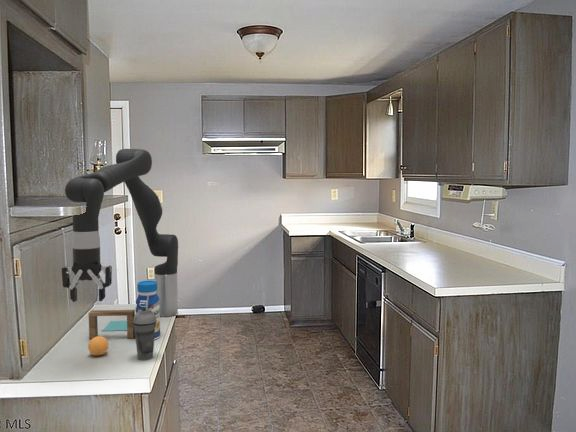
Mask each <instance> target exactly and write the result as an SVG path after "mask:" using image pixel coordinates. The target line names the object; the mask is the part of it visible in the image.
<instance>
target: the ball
mask: <svg viewBox="0 0 576 432" xmlns="http://www.w3.org/2000/svg"><path fill="white" fill-rule="evenodd" d="M87 346H88V347H87V348H88V351H89V352H90V354H91V355H94V356H95V357H96V356H102V355H103V354H105V353H106V352H107V351H108V349H109V341H108V339H107V338H105V337H104V336H99V335H98V336H97V337H94V338H93V339H92V340H89V343H88V345H87Z"/></svg>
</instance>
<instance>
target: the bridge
mask: <svg viewBox="0 0 576 432" xmlns="http://www.w3.org/2000/svg"><path fill="white" fill-rule="evenodd" d="M135 314H136V311H135V309H106V310H103V309H102V310H98V309H97V310H96V309H95V310H90V311H89V312H88V336H89V341H91V340H92V339H93V338H94V337H97V336H99V328H98V317H111V316H112V317H118V316H119V317H121V316H123V317H124V316H126V321H127V331H126V332H127V334H126V335H127V337H126V338H127V340H133V339H134V340H135V330H134V327H133V319H134V316H135Z"/></svg>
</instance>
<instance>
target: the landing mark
mask: <svg viewBox="0 0 576 432" xmlns="http://www.w3.org/2000/svg"><path fill="white" fill-rule="evenodd" d="M101 332H127V320H110V321H109V322H108V323H107V325H106V326H104V328H103V329H102V330H101Z"/></svg>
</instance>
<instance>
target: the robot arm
mask: <svg viewBox="0 0 576 432" xmlns="http://www.w3.org/2000/svg"><path fill="white" fill-rule="evenodd" d="M152 167H153V159H152V155H151V153H150V152H149V151H148V150H145V149H142V148H122V149H119V150H118V151H117V153H116V154H115V163H114V164H113V163H112V164H109V165H105V166H103V167H101V168H98V169H97V170H95V171H94V172H90V173H86V174H84V175H83V174H82V175H79V176H75V177H73V178H71V179H70V180H69V181H68V182H67V183H66V185H65V188H64V194H65V196H66V198H67V199H68V200H69V201H71V202H73V203H85V206H87V207H86V212H85V213H83V214H80V215H74V216H73V215H72V238H71V239H72V240H71V246H72V266H68V265H66V266H63V267H62V268H61V277H62V282H61V283H62V287H63V288H67V289H69V294H70V295H69V299H70V300H71V302H72V303H73V302H74V303H75V302H77V301H78V287H77V286H78V285H79V282H81V281H93V282H94V283H95V284H96V285H97V287H98V302H103V300H104V299H105V298H106V288H109V286H111V285H112V283H113V282H112V278H113V277H112V274H113V273H112V272H113V269H112V268H113V267H112V265H107V266H105V265H104V266H103V265H102V264H101V263H102V262H101V239H100V233H99V232H100V231H99V228H100V227H99V217H100V212H101V206H102V203H103V199H104V195H105V193H106V192H108V191H110V190H112V189H114V188H115V187H116V186H118V185H120V184H123V183H125V186H126V188H127V190H128V192H129V194H130V197H131V200H132V201H133V204H134V205H133V206H134V207H135V209H136V210H135V211H136V213H137V215H138V218H139V220H140V222H141V225H142V227H143V230H144V231H143V232H144V234H145V237H146V241H147V244H148V248H149V251H150V253H151V255H152V256H153V257H161V258H163V257H166V261H164V262H163V263H160V264H157V265H156V266H154V269H153V272H154V273H153V275H154V276H153V277H154V279H153V281H156V282H157V291H156V294H157V295H158V297H159V299H160V302H159V305H160V317H162V318H163V317H166V318H167V317H172V316H175V315H178V313H179V309H178V307H179V306H178V303H179V301H178V299H179V298H178V297H179V296H178V291H179V290H178V263H179V258H178V256H179V239H178V237H177V235H176V234H167V233H164V234H163V233H158V230H157V227H158V224H159V222H160V220H161V219H162V215H163V207H162V203H161V201H160V199H159V196H158V195H157V194H156V192H155V191H154V190H153V189H152V188H151V187H149V185H147V184H146V183H145V182H144V181H143V180H142V179H141V178H140V177H141V176H145V175H147V174H149V172H150V171H151V169H152ZM72 272H73V274H74V275H75V276H74V278H73V279H72V281H71V279H70V278H71V277H70V274H71V273H72ZM101 272H103V274H105V277H104V280H103V277H102V276H101V274H100V273H101Z"/></svg>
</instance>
